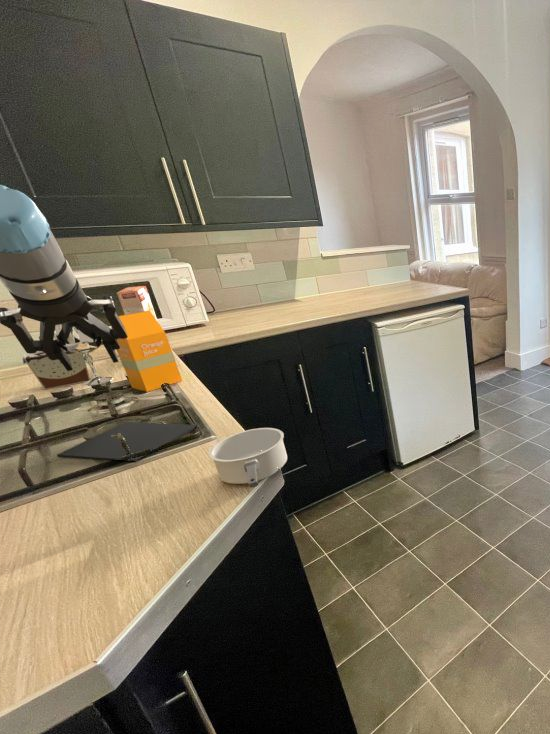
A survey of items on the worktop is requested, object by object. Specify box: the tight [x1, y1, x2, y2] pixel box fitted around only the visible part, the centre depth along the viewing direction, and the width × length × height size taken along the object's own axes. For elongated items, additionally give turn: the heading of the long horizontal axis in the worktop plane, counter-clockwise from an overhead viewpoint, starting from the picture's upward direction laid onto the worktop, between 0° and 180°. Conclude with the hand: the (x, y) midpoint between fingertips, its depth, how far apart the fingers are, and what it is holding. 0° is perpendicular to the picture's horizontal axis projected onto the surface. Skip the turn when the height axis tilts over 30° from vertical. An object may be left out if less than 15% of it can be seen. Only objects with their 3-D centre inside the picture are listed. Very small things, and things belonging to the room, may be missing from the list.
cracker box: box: [116, 285, 159, 323], centre depth 149 cm, size 14×6×21 cm, turn 30°
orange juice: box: [110, 310, 183, 393], centre depth 113 cm, size 8×9×20 cm
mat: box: [56, 421, 198, 462], centre depth 87 cm, size 18×14×1 cm
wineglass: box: [54, 322, 114, 387], centre depth 77 cm, size 6×6×12 cm
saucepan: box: [208, 427, 288, 488], centre depth 71 cm, size 12×20×6 cm, turn 33°
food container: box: [22, 350, 91, 391], centre depth 118 cm, size 12×6×10 cm, turn 130°
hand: (91, 360), depth 81 cm, fingers closed on wineglass, 6 cm apart
